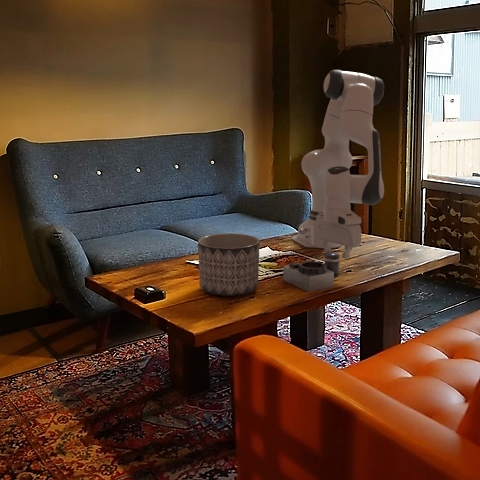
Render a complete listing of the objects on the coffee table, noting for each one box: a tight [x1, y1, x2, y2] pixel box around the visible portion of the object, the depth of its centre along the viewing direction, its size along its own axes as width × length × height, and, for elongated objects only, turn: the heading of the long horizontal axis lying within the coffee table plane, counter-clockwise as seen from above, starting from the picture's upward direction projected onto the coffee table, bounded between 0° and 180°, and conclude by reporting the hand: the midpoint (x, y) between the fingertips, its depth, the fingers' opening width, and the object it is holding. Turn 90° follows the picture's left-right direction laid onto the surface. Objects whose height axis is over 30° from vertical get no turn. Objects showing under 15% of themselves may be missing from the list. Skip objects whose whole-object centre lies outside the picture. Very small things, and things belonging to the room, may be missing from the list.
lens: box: [323, 252, 340, 278], centre depth 214 cm, size 5×5×7 cm
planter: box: [197, 232, 261, 297], centre depth 195 cm, size 19×19×16 cm
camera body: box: [282, 260, 335, 293], centre depth 204 cm, size 14×10×7 cm
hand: (336, 255), depth 212 cm, fingers open, 8 cm apart
